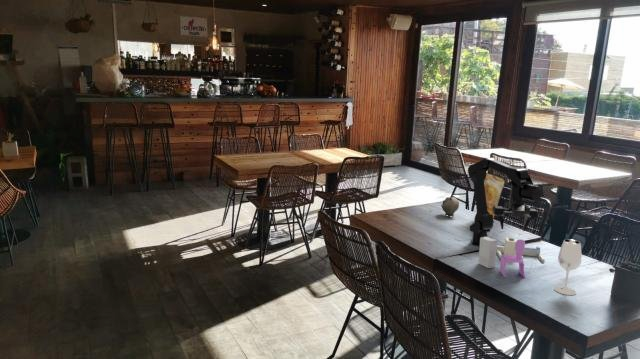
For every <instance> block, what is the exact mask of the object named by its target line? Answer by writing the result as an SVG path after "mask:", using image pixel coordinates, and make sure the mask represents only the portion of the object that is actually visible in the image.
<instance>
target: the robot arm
mask: <svg viewBox="0 0 640 359" xmlns="http://www.w3.org/2000/svg"><path fill="white" fill-rule="evenodd" d="M490 169H491V170H495V171H496V172H499V173H501V174H504V175H505V176H506V177H507V179H509V180H510V181H509V182H508V183H507V186H511V187H510V193H509V202H508V208H504V207H503V206H500V205H497V206H493V208H492V212H493V213H494V214H495V215H494V216H496V217H497V218H498V220H499V224H500V228H501V229H502V230H503V229H504V218H505V215H504V214H512V216H513V217H516V218H517V217H520V218H524V220H523V225H522V231H523V232H525V231H526V229H527V227H528V225H529V224H530V222H531V221H532V220H535V219H536V218H538V219H539V216H540V214H539V211H538V210H537V209H535V208H531V205H525V202H524V201H525V200H527V201H531V202H535V203H538V202H539V201H540V200H541V199H542V198H541V197H542V191H541V189H540V186H539V185H534V183H533V181H532V177H531V175H530V173H529V170H528V169H527V168H525V167H518V166H512V165H509V164H506V163H505V162H502V161H501V160H497V159H495V158H494V157H484V158H483V159H481V160H480V161H478V162H475V163H473V164H470V165H469V166H468V168H467V173H468V177H469V179H470V181H471V182H472V183H473V191H474V198H475V208H476V214H475V216H474V220H473V221H474V223H472V224H471V225H470V226H469V231H470V232H472V236H471V239H470V242H471V244H472V245H473V246H480V238H481V237H489V236H488V233H489V232H490V231H491V229H493V228H492V226H493V227H494V223H495V221H494V218H493V215H492V214H489V212H488V210H487V202H486V194H485V186H484V180H485V178H486V173H487V172H488V171H490Z"/></svg>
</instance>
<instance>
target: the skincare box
mask: <svg viewBox="0 0 640 359" xmlns="http://www.w3.org/2000/svg"><path fill="white" fill-rule="evenodd" d="M497 245H498V240H497V239H494V238H491V237H489V236H488V237H481V238H480V245H479V251H478V265H481V266H483V267H485V268H487V269H493V268H496V259H497V253H496V249H497Z"/></svg>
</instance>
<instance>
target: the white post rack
mask: <svg viewBox="0 0 640 359" xmlns="http://www.w3.org/2000/svg"><path fill="white" fill-rule="evenodd" d="M503 254H504V245H498V244H497V249H496V255H497V256H498V258H499V259H500V260H501V257H502V255H503ZM516 255H517V253H516ZM524 256H532V257H537V258H538V259H539V261H540V262H541V263H544V264H545V260H546V259H545V258H544V257H543V256H542V254H541V246H536V247H532V246H531V247H529V246H525V250H524V252H523V254H522V258H521V259H522V260H523V261H524Z"/></svg>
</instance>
